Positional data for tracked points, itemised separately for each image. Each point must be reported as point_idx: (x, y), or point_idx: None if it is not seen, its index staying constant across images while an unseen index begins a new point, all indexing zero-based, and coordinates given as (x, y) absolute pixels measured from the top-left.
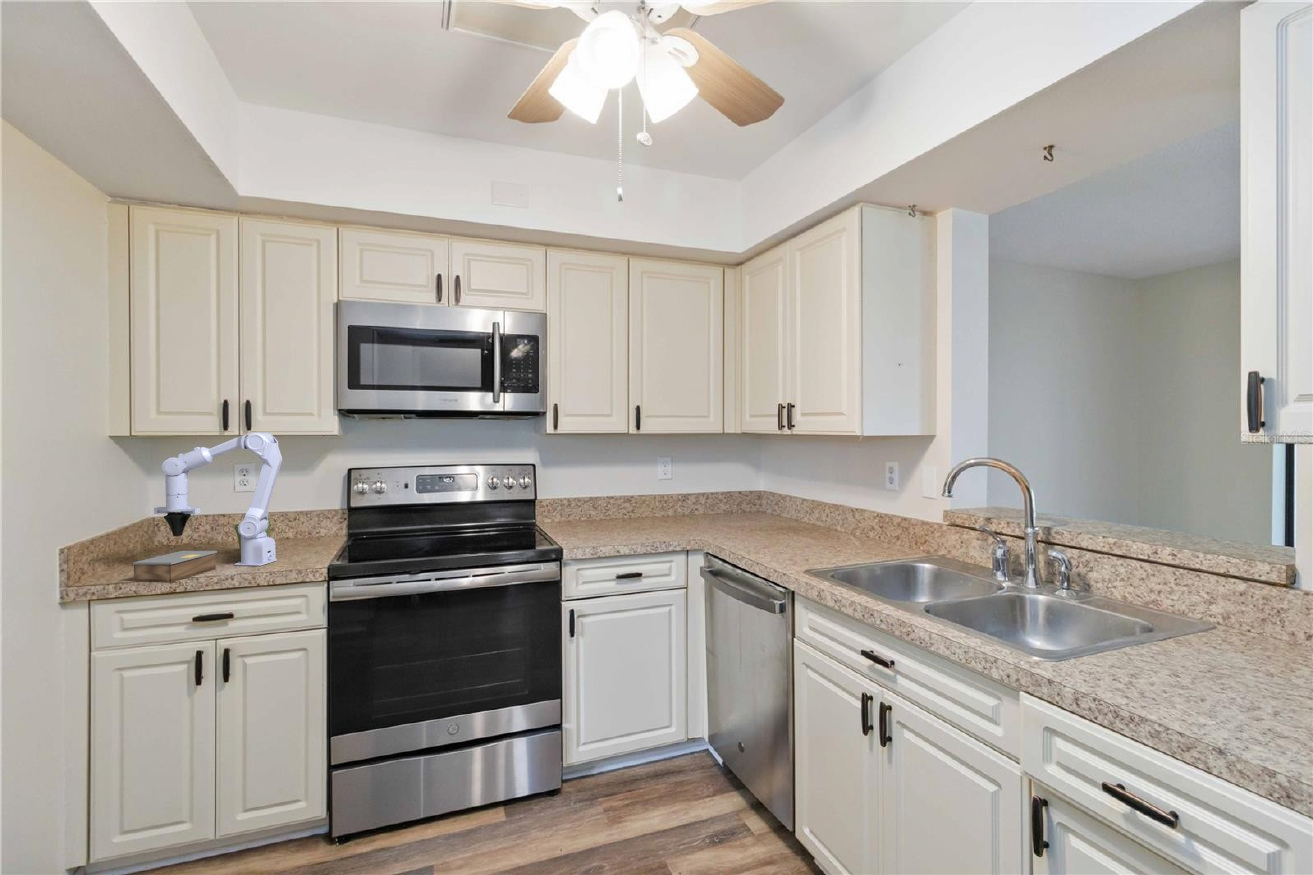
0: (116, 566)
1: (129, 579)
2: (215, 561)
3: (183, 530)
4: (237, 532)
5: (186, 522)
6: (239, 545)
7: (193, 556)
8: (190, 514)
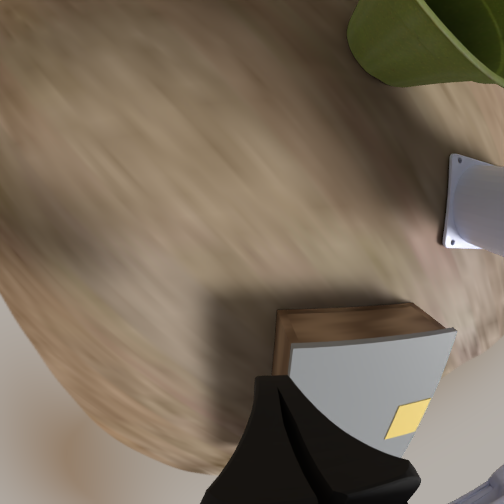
0: (4, 289)
1: (227, 435)
2: (428, 315)
3: (303, 394)
4: (439, 57)
5: (347, 434)
6: (388, 61)
7: (421, 418)
8: (418, 478)
